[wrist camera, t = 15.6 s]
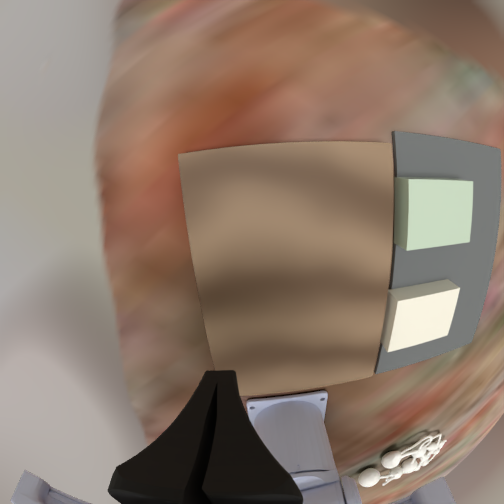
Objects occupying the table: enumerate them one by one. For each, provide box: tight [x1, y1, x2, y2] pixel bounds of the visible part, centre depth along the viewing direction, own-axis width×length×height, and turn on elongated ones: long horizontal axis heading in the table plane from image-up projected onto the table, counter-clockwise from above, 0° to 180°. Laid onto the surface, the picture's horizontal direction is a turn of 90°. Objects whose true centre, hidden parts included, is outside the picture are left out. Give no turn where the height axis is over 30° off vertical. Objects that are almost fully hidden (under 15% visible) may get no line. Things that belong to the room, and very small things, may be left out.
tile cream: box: [380, 279, 460, 352], centre depth 20 cm, size 5×7×2 cm
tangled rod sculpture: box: [358, 433, 447, 487], centre depth 30 cm, size 19×14×4 cm
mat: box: [374, 131, 501, 374], centre depth 20 cm, size 22×14×1 cm, turn 5°
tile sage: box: [394, 177, 473, 251], centre depth 17 cm, size 5×7×2 cm
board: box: [178, 141, 394, 396], centre depth 19 cm, size 20×14×2 cm
